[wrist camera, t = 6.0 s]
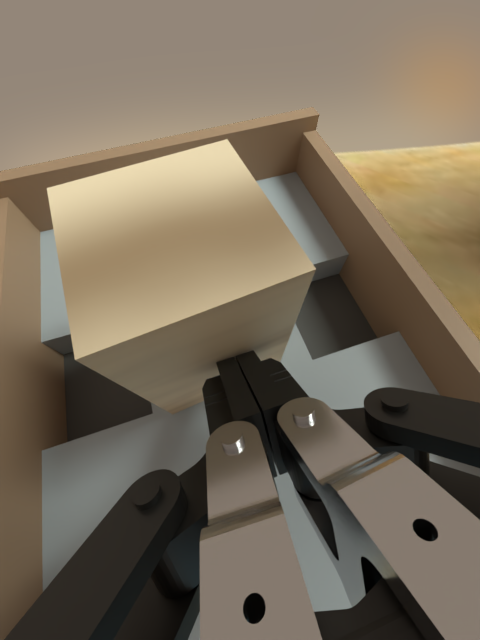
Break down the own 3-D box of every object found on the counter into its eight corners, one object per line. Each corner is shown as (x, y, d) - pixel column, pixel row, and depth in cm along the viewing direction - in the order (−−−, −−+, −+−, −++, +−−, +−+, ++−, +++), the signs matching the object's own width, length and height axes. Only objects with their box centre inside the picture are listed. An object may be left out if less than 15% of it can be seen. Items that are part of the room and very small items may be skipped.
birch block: (143, 318, 16) (46, 188, 8) (235, 285, 17) (227, 138, 9) (172, 414, 14) (74, 359, 6) (277, 369, 15) (316, 269, 7)
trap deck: (48, 248, 22) (-22, 175, 16) (296, 187, 25) (312, 107, 19) (58, 714, 11) (-143, 996, 5) (499, 513, 14) (681, 555, 8)
